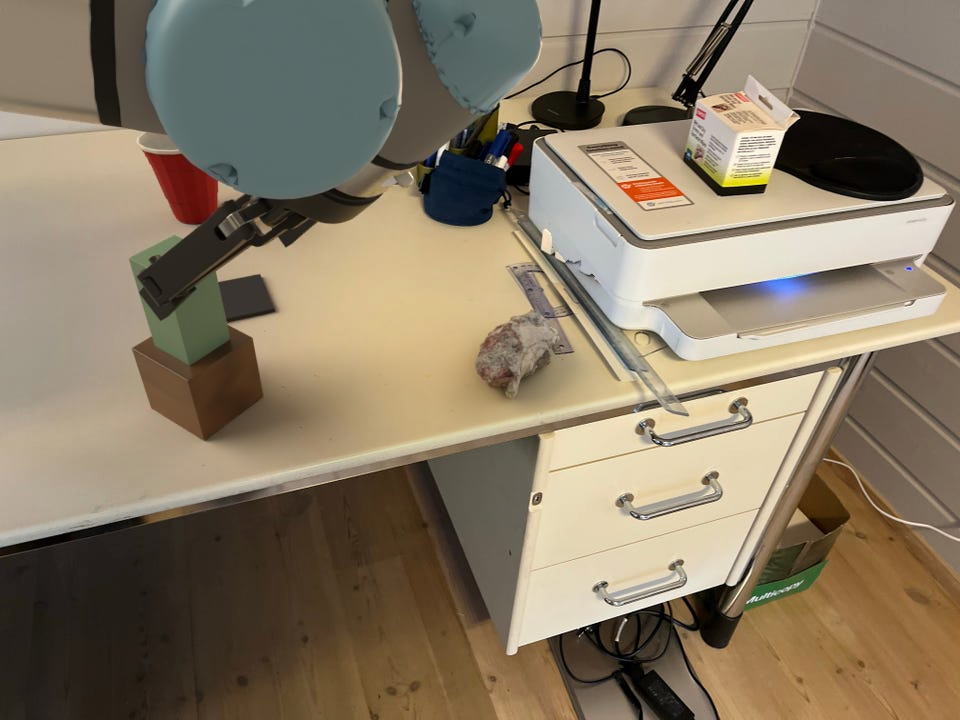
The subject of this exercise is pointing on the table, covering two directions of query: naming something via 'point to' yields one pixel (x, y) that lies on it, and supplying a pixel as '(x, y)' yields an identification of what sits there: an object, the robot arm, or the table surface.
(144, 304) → the top block
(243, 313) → the mat
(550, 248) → the modular blocks
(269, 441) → the table surface
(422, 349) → the table surface
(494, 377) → the mineral rock
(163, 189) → the plastic cup
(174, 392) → the base block
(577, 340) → the table surface
